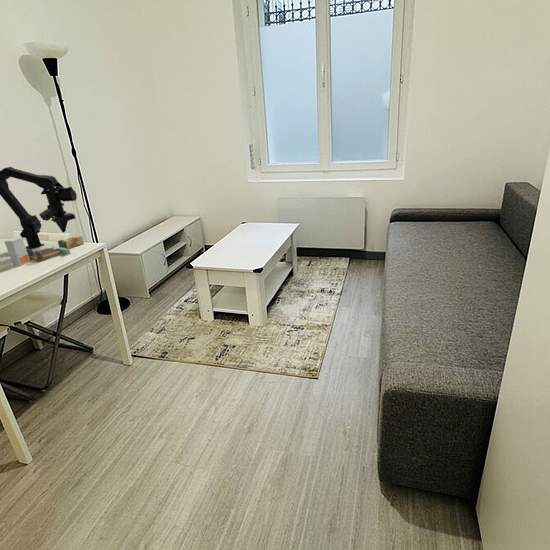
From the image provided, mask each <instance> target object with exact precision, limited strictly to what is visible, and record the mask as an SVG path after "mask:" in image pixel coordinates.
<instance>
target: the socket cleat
mask: <svg viewBox="0 0 550 550" xmlns="http://www.w3.org/2000/svg"><path fill="white" fill-rule="evenodd" d="M57 248H58V251H61V252H62V254H61V255H66V256H68V255H71V251H70V249H66V248H62V247H60V248H59V247H57Z"/></svg>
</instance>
